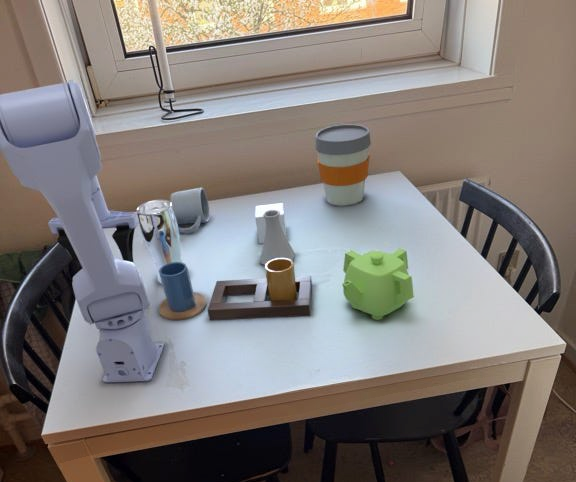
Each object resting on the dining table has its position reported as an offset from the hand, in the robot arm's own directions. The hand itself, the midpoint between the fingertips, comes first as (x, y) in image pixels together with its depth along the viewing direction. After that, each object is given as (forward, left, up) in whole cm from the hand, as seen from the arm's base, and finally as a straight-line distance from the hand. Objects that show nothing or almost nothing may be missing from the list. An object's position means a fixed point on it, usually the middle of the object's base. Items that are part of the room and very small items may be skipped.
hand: (109, 267), depth 96 cm
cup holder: (+2, -26, -10) cm, 27 cm away
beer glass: (+13, -6, -10) cm, 18 cm away
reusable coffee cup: (+47, -41, -10) cm, 63 cm away
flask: (+18, -27, -10) cm, 34 cm away
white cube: (+29, -25, -10) cm, 40 cm away
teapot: (-1, -46, -10) cm, 47 cm away
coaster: (+2, -11, -10) cm, 15 cm away
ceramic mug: (+38, -5, -10) cm, 40 cm away
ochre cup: (+2, -30, -10) cm, 31 cm away
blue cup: (+2, -11, -10) cm, 14 cm away
